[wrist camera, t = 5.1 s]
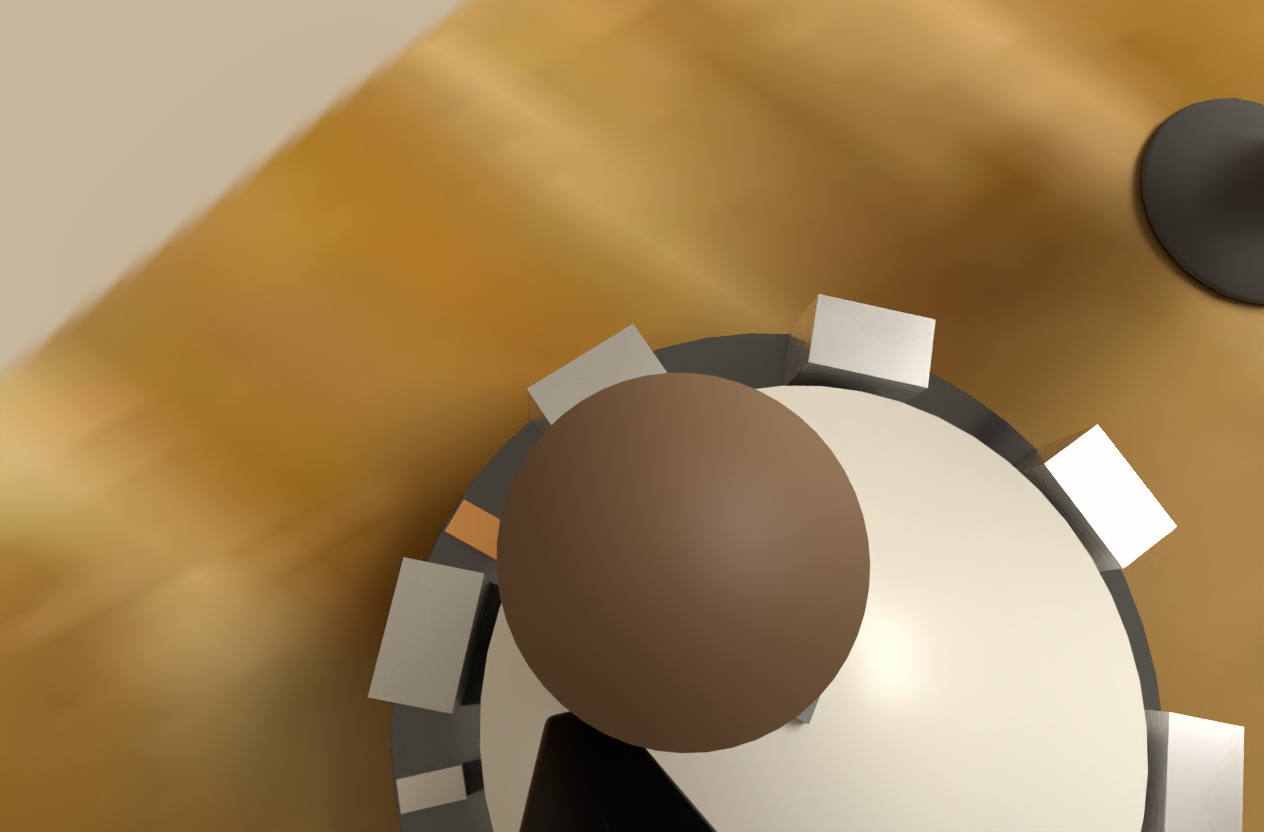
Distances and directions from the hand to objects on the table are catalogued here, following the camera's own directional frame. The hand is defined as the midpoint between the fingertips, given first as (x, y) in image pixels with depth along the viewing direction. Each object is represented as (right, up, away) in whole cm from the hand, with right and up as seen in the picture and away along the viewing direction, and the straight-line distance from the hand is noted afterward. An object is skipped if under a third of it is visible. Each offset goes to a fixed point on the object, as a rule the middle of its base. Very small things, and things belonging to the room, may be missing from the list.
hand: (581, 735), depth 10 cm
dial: (+3, -1, +5) cm, 6 cm away
